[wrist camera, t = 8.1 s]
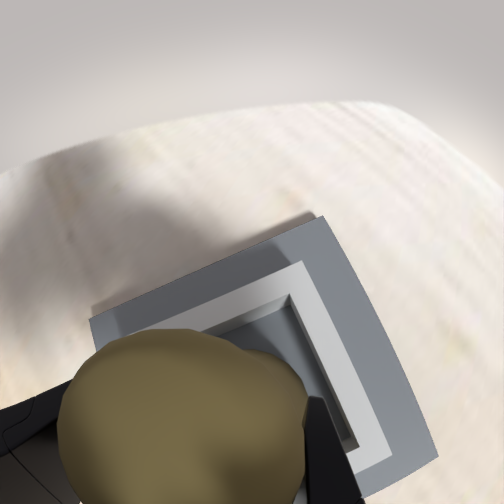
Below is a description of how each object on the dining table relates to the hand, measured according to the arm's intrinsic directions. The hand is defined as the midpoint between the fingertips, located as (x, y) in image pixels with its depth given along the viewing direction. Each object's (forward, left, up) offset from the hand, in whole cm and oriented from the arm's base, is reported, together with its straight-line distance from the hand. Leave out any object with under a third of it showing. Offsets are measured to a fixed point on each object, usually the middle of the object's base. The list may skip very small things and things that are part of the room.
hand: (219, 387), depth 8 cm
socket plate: (-1, -1, -9) cm, 9 cm away
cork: (-1, -1, -7) cm, 7 cm away
